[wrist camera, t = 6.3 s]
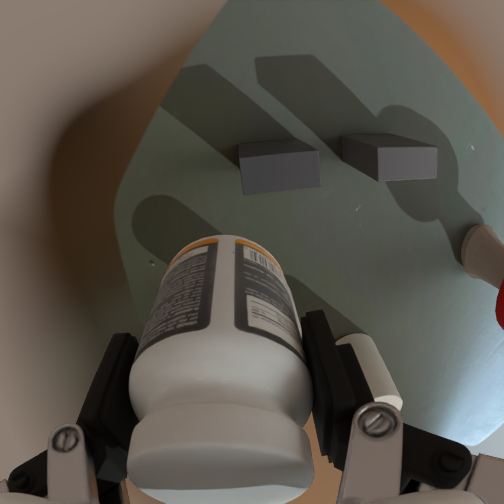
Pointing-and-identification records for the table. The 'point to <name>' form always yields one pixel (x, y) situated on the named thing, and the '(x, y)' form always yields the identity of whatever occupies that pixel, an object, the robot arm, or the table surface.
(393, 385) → the white cylinder
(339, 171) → the table surface
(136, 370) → the pill bottle
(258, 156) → the dark grey block
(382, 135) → the dark grey rectangular block
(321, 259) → the table surface
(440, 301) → the table surface
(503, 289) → the decorative mushroom
